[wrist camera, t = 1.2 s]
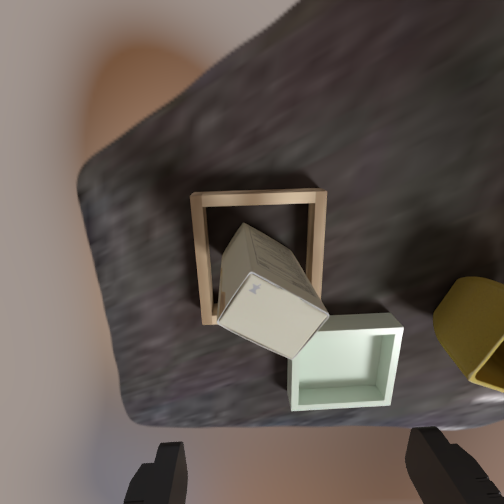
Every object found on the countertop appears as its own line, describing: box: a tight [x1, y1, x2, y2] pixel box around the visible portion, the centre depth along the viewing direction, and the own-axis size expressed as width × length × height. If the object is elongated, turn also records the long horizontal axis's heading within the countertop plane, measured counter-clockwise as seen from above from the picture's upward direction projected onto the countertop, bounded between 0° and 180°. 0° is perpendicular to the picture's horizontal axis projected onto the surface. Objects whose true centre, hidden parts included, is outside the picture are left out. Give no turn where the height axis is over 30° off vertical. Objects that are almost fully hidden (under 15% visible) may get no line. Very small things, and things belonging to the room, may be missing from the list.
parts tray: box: [287, 313, 404, 411], centre depth 33 cm, size 12×11×3 cm
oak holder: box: [190, 188, 327, 325], centre depth 28 cm, size 12×13×2 cm
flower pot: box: [433, 277, 504, 393], centre depth 28 cm, size 9×9×9 cm
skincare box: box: [217, 223, 329, 360], centre depth 24 cm, size 6×4×12 cm
